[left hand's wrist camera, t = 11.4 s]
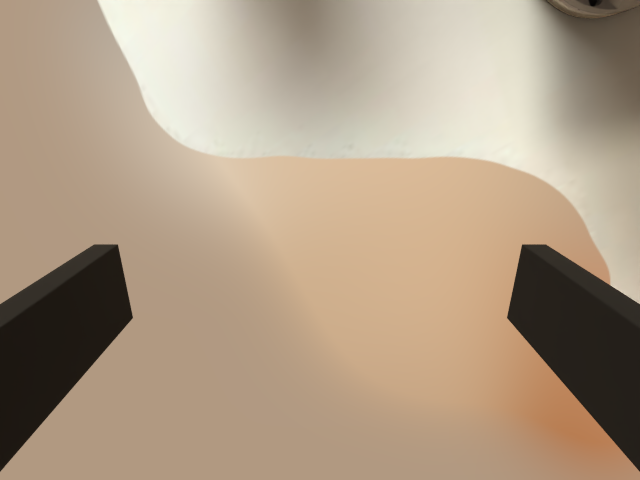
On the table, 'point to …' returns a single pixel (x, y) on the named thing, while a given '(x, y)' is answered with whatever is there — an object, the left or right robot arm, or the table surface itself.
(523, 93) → the table surface
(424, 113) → the table surface
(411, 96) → the table surface
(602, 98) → the table surface
